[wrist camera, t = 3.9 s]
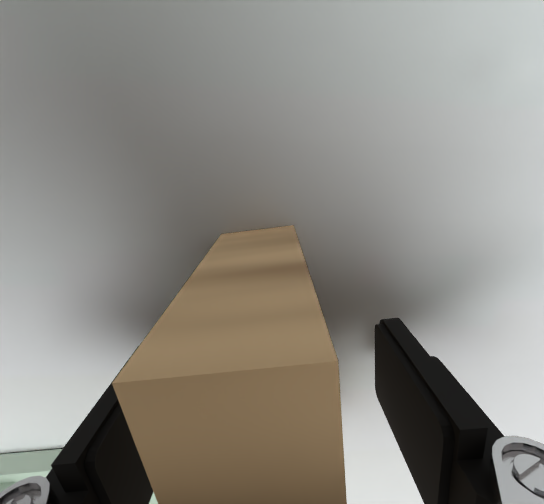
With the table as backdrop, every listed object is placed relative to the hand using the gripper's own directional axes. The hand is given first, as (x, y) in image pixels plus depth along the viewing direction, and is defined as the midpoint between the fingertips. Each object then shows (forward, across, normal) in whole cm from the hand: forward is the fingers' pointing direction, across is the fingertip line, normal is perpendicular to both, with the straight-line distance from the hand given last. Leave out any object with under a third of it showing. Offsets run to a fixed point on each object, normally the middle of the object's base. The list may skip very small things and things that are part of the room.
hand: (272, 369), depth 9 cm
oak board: (+2, 0, 0) cm, 2 cm away
